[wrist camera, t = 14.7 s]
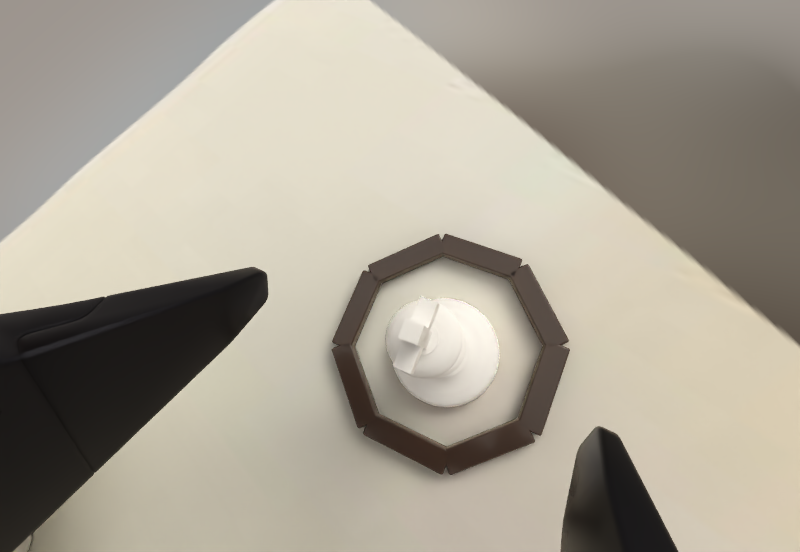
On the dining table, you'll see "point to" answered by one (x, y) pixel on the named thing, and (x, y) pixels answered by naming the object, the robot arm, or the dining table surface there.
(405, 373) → the chess piece
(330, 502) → the dining table surface
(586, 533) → the robot arm
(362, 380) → the spot ring
